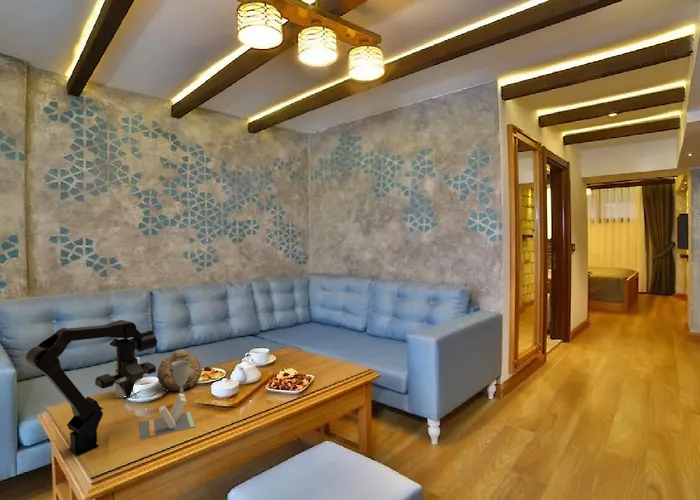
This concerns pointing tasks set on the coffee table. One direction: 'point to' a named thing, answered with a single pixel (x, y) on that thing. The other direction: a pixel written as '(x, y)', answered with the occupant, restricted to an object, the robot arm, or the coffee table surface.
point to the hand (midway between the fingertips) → (127, 397)
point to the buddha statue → (167, 371)
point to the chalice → (181, 373)
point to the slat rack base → (160, 425)
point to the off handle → (167, 416)
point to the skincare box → (118, 389)
